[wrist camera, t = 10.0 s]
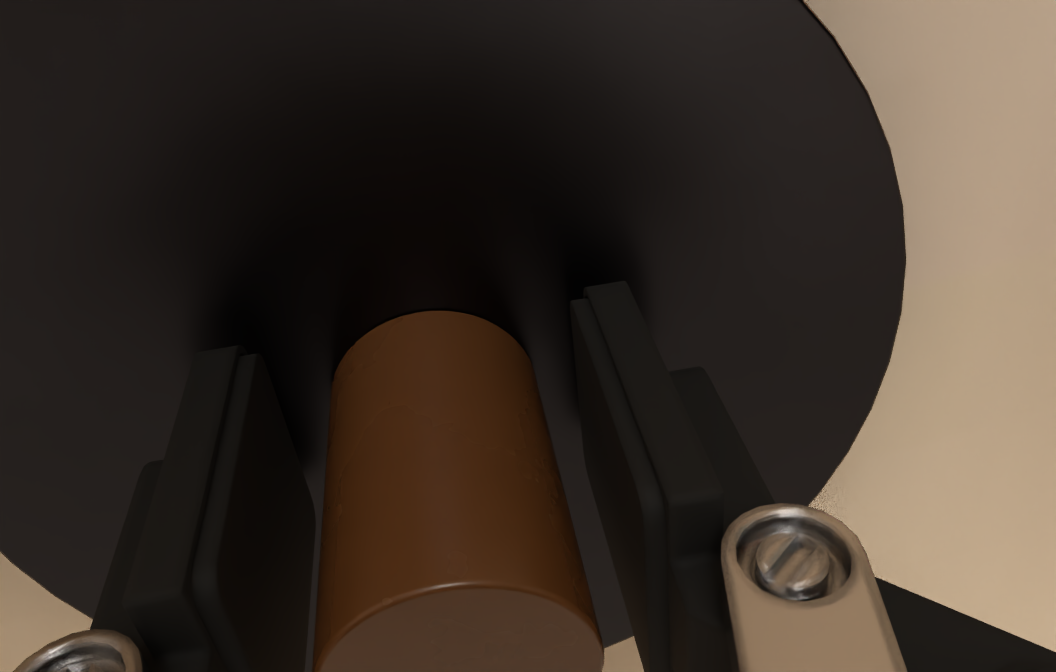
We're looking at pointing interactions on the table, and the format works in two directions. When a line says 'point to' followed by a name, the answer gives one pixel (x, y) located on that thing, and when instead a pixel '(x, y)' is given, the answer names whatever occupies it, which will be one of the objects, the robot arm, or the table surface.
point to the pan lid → (427, 278)
